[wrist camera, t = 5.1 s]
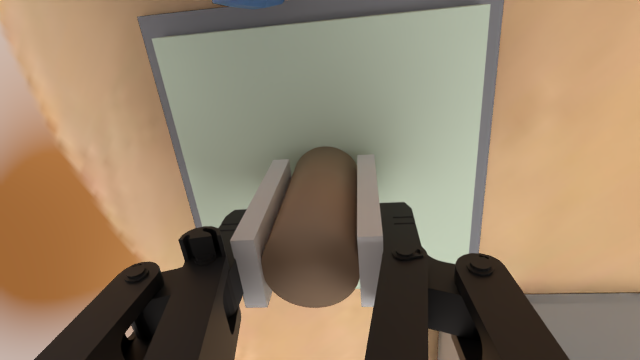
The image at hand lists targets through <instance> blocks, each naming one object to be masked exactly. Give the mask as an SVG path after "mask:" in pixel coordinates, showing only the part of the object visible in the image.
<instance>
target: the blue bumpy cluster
mask: <svg viewBox="0 0 640 360" xmlns="http://www.w3.org/2000/svg"><path fill="white" fill-rule="evenodd" d="M284 1H285V0H212V2H213V3H215V4H220V5H225V6H230V7H237V8H244V9H252V10H254V9H261V8H267V7H271V6H275V5H280V4H283V2H284Z"/></svg>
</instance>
